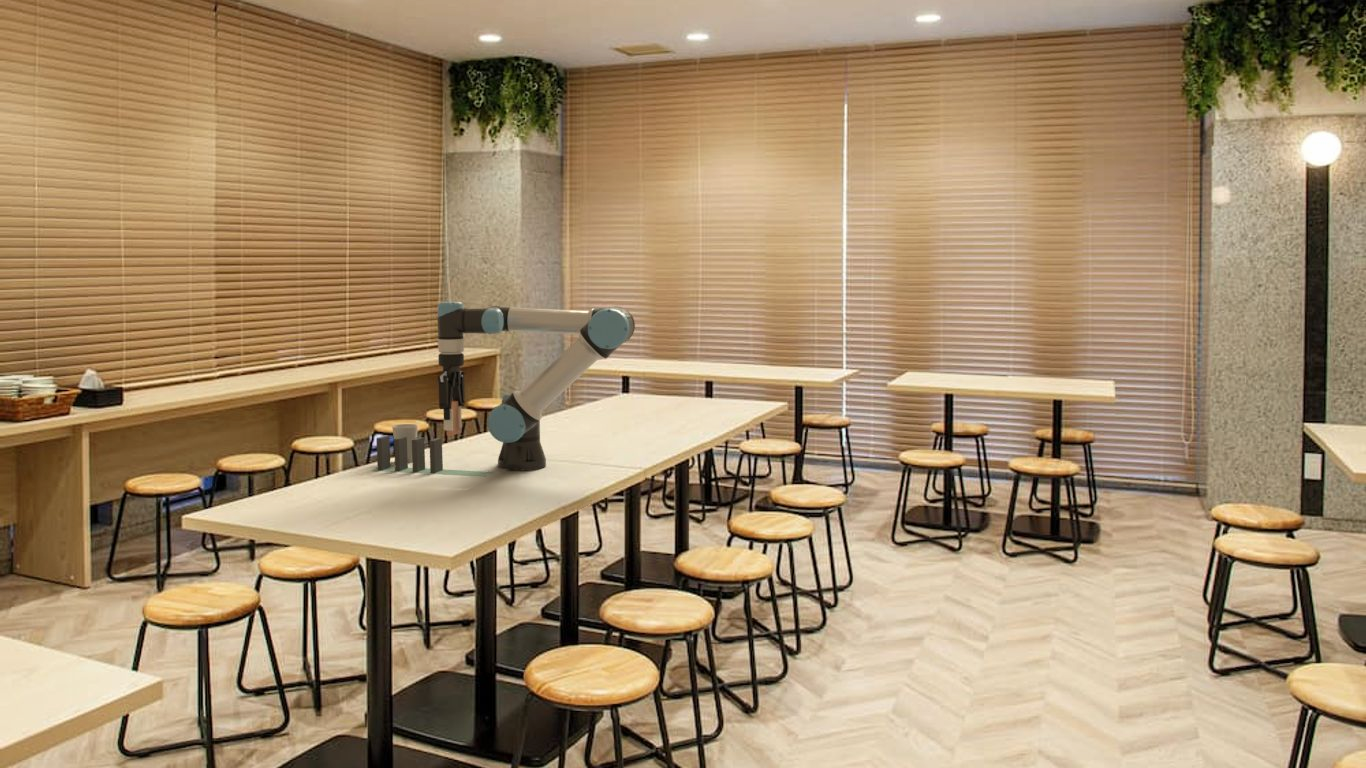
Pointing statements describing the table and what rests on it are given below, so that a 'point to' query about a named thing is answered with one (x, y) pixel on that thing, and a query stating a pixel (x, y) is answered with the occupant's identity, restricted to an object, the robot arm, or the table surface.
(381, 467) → the domino
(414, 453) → the domino
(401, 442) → the domino
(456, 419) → the domino
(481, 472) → the runner
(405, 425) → the cup
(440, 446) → the domino
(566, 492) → the table surface
